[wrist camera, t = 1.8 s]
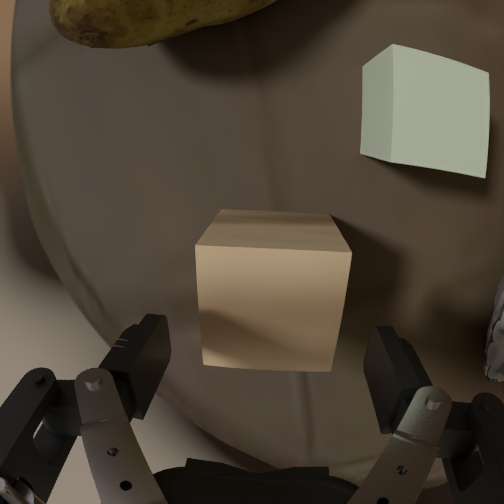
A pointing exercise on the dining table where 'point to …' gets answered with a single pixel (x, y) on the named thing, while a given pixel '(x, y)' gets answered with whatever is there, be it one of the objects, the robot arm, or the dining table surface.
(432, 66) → the sage block
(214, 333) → the oak block
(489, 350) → the brain slice
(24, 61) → the dining table surface
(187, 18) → the potato
